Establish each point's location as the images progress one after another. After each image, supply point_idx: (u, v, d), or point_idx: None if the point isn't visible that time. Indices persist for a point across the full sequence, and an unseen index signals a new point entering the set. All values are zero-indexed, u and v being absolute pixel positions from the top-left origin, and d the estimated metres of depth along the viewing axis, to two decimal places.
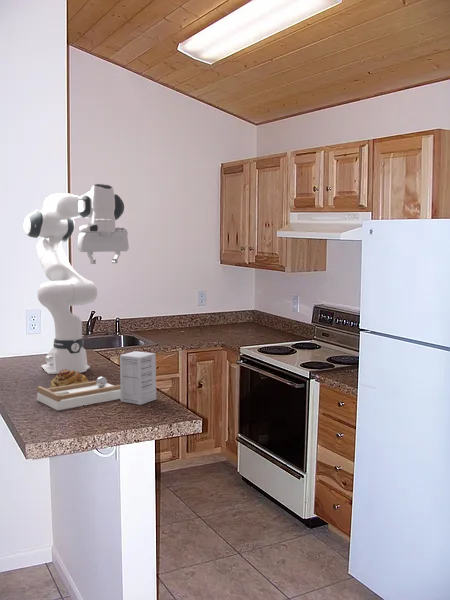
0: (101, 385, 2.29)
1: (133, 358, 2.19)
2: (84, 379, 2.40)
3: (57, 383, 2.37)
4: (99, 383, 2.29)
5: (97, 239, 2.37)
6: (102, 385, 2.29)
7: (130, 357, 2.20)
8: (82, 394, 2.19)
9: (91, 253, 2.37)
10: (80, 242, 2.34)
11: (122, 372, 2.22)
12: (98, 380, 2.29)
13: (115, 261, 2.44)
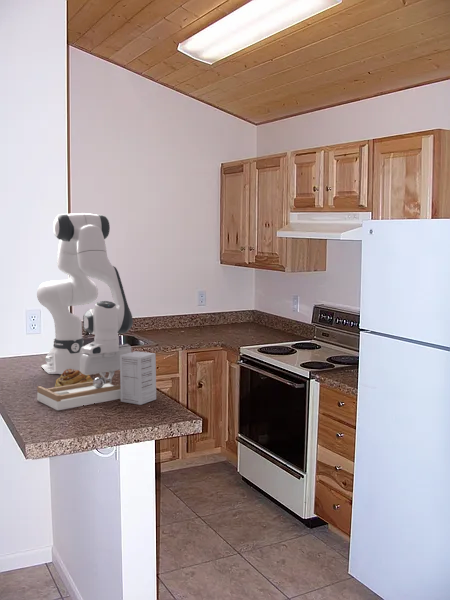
0: (100, 386, 2.29)
1: (133, 358, 2.19)
2: (89, 379, 2.41)
3: (62, 383, 2.37)
4: (97, 386, 2.28)
5: (100, 360, 2.28)
6: (101, 386, 2.29)
7: (130, 357, 2.20)
8: (82, 394, 2.19)
9: (104, 373, 2.30)
10: (83, 364, 2.24)
11: (122, 372, 2.22)
12: (95, 384, 2.28)
13: (109, 381, 2.32)
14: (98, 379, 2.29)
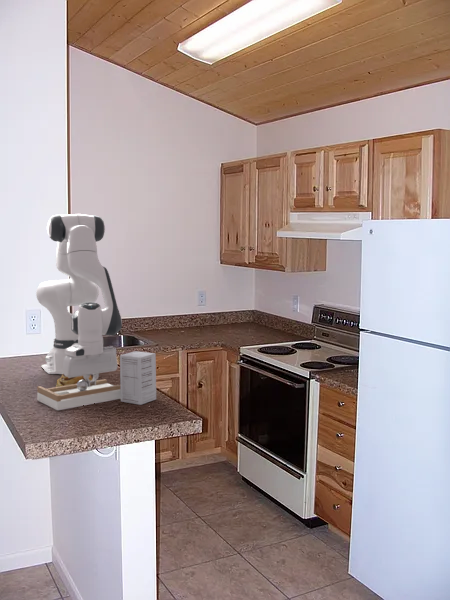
0: (84, 382, 2.25)
1: (133, 358, 2.19)
2: (90, 378, 2.41)
3: (63, 383, 2.37)
4: (86, 382, 2.25)
5: (84, 362, 2.24)
6: (84, 383, 2.24)
7: (130, 357, 2.20)
8: (82, 394, 2.19)
9: (88, 376, 2.26)
10: (66, 367, 2.20)
11: (122, 372, 2.22)
12: (87, 384, 2.26)
13: (93, 384, 2.28)
14: (85, 389, 2.26)
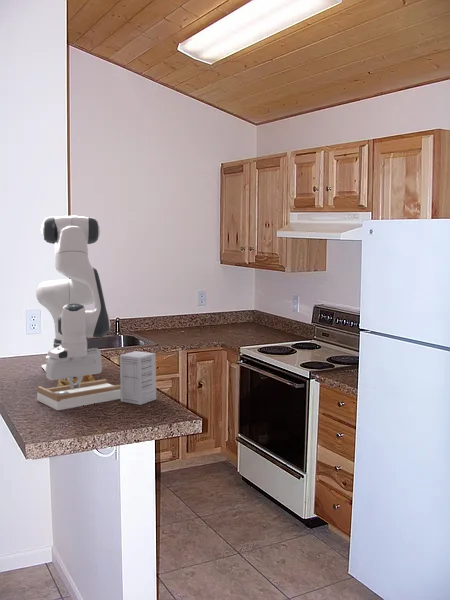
0: None
1: (133, 358, 2.19)
2: (91, 378, 2.41)
3: (64, 382, 2.38)
4: None
5: (67, 365, 2.20)
6: None
7: (130, 357, 2.20)
8: (82, 394, 2.19)
9: (71, 378, 2.22)
10: (49, 369, 2.16)
11: (122, 372, 2.22)
12: None
13: (77, 386, 2.24)
14: None
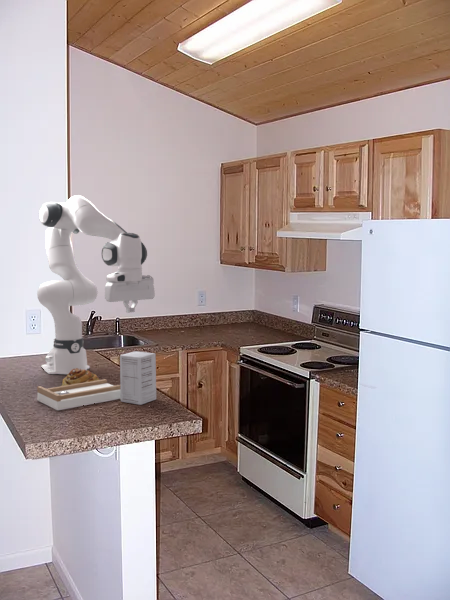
0: None
1: (133, 358, 2.19)
2: (95, 378, 2.42)
3: (69, 382, 2.38)
4: None
5: (124, 288, 2.36)
6: None
7: (130, 357, 2.20)
8: (82, 394, 2.19)
9: (127, 302, 2.38)
10: (108, 292, 2.33)
11: (122, 372, 2.22)
12: None
13: (132, 310, 2.40)
14: None
